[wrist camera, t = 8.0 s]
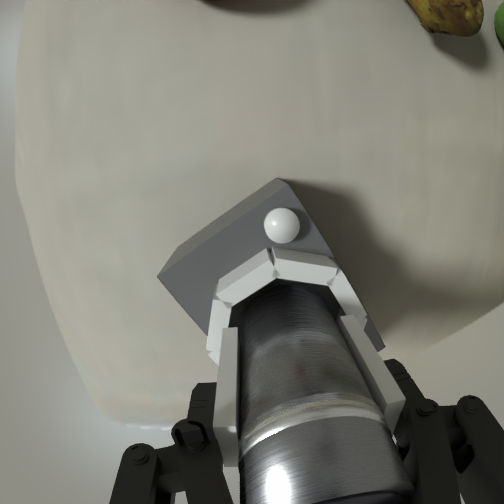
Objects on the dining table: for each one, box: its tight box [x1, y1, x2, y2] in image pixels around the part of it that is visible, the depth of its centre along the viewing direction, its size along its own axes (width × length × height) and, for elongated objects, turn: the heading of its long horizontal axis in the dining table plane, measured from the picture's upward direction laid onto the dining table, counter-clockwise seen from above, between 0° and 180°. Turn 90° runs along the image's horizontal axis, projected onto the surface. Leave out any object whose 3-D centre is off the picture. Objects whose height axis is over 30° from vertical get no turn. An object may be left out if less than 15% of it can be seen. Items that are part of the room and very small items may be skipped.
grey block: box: [157, 178, 385, 366], centre depth 20 cm, size 13×9×8 cm
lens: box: [238, 285, 415, 504], centre depth 11 cm, size 5×5×12 cm
